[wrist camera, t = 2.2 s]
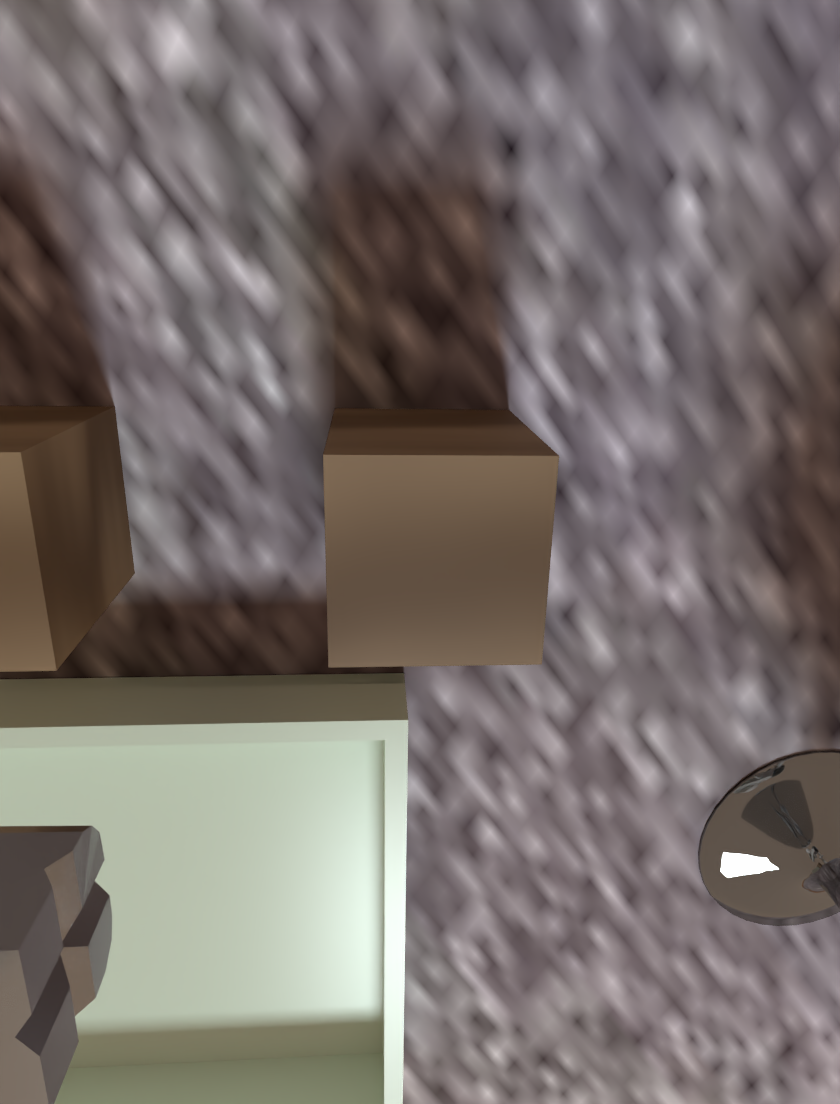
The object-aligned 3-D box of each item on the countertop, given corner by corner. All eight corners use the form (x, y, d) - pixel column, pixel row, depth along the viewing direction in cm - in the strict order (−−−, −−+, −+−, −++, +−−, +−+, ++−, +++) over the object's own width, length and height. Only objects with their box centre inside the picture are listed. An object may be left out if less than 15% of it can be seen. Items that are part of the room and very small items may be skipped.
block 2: (335, 408, 19) (323, 454, 14) (508, 409, 20) (559, 456, 14) (337, 571, 21) (328, 667, 16) (498, 570, 21) (541, 664, 16)
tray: (-142, 681, 21) (-207, 732, 19) (403, 673, 22) (408, 719, 20) (-40, 1069, 26) (-80, 1147, 24) (399, 1047, 27) (402, 1121, 25)
